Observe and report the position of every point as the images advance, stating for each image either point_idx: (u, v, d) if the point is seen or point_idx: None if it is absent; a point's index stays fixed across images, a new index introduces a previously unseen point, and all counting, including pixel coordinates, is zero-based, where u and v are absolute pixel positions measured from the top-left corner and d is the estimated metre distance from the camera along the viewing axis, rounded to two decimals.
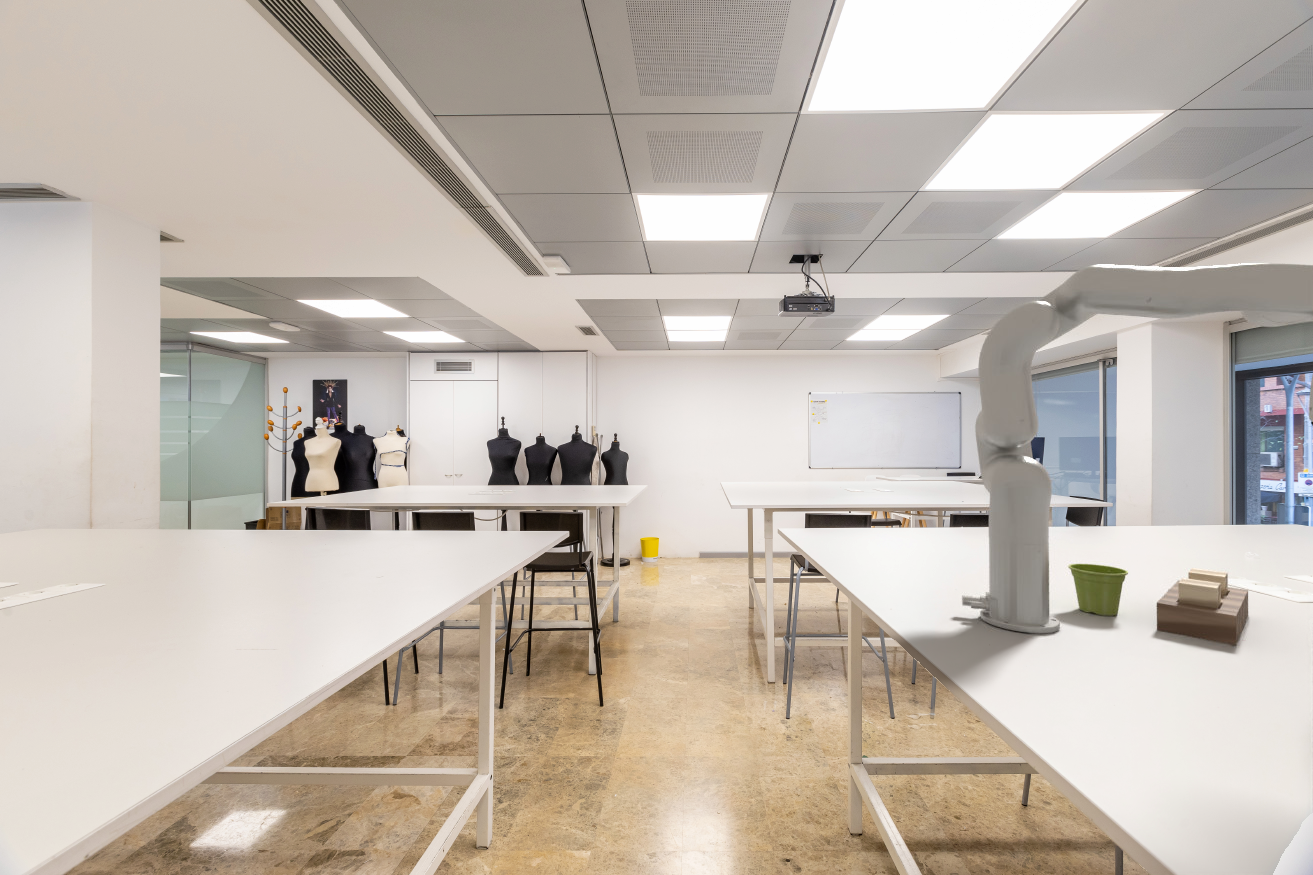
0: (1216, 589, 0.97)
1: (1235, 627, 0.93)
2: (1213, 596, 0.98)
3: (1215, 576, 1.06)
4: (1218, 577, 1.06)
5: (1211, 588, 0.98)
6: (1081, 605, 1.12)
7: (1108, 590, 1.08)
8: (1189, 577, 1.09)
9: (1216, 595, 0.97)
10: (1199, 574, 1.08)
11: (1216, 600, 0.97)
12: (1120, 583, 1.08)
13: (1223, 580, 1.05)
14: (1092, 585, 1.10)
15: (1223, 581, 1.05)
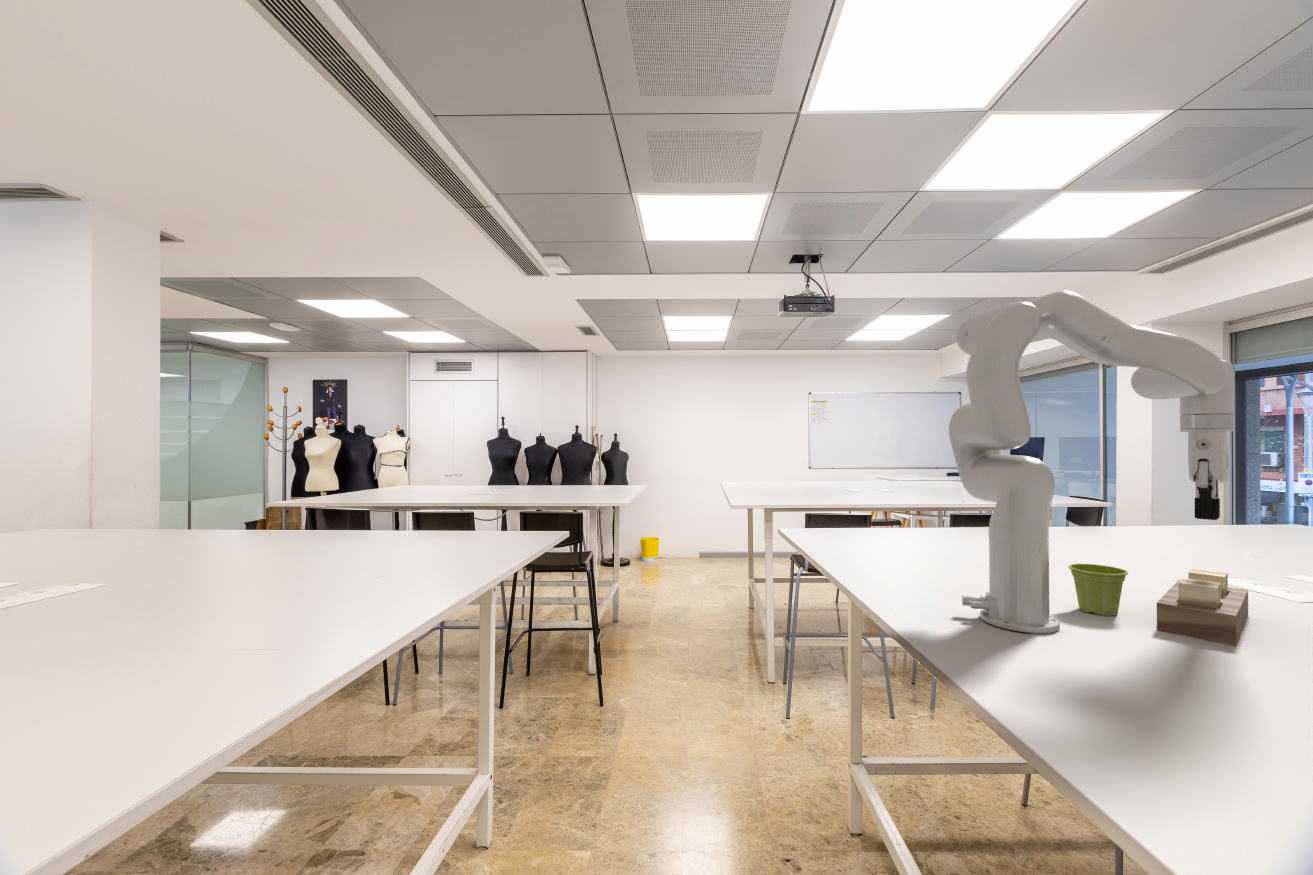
0: (1216, 589, 0.97)
1: (1235, 627, 0.93)
2: (1213, 596, 0.98)
3: (1215, 576, 1.06)
4: (1218, 577, 1.06)
5: (1211, 588, 0.98)
6: (1081, 605, 1.12)
7: (1108, 590, 1.08)
8: (1189, 577, 1.09)
9: (1216, 595, 0.97)
10: (1199, 574, 1.08)
11: (1216, 600, 0.97)
12: (1120, 583, 1.08)
13: (1223, 580, 1.05)
14: (1092, 585, 1.10)
15: (1223, 581, 1.05)
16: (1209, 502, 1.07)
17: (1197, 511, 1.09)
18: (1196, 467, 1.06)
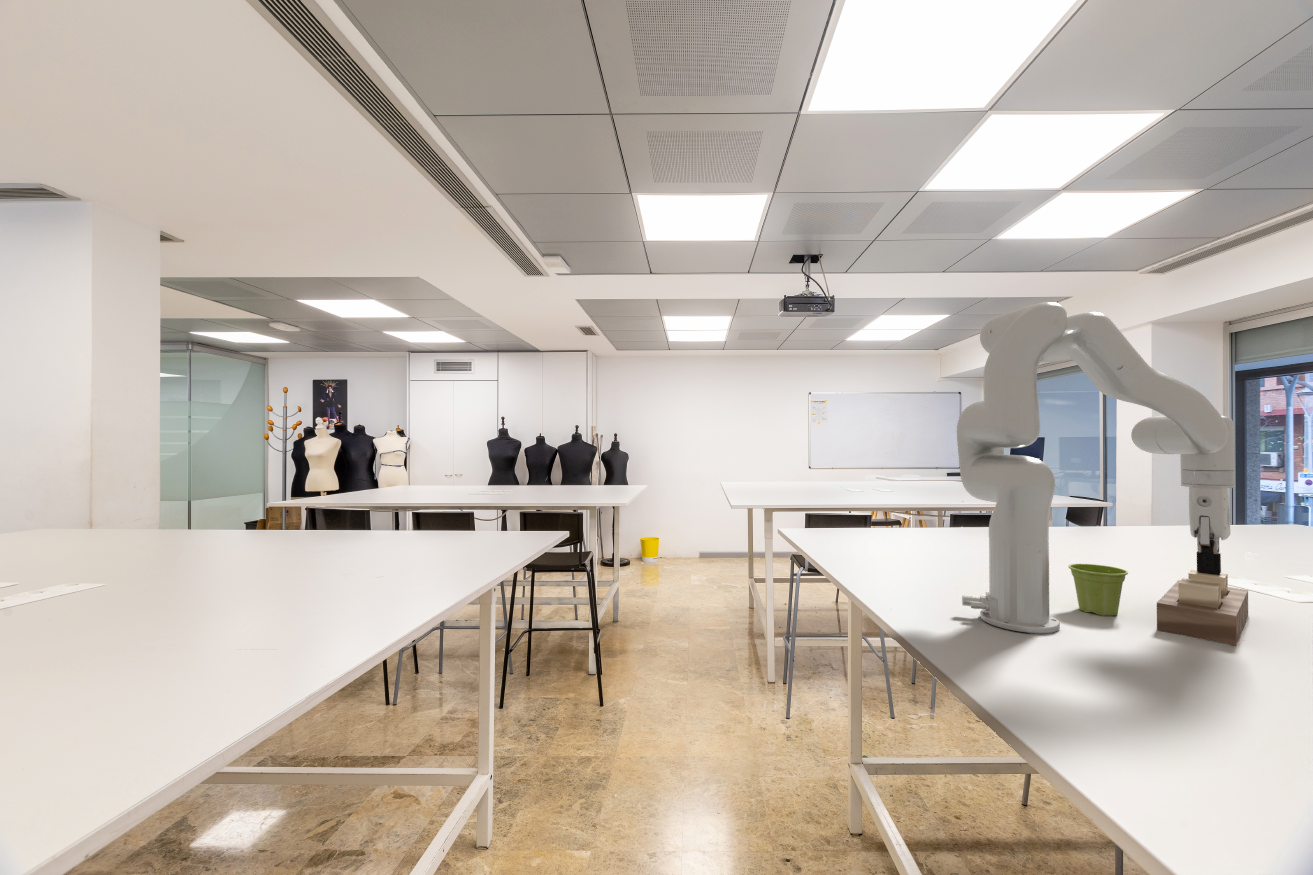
0: (1216, 589, 0.97)
1: (1235, 627, 0.93)
2: (1213, 596, 0.98)
3: (1215, 577, 1.06)
4: (1218, 578, 1.06)
5: (1211, 588, 0.98)
6: (1081, 605, 1.12)
7: (1108, 590, 1.08)
8: (1189, 578, 1.09)
9: (1216, 595, 0.97)
10: (1199, 575, 1.08)
11: (1216, 600, 0.97)
12: (1120, 583, 1.08)
13: (1223, 581, 1.05)
14: (1092, 585, 1.10)
15: (1223, 582, 1.05)
16: (1211, 557, 1.07)
17: (1199, 565, 1.09)
18: (1197, 524, 1.06)
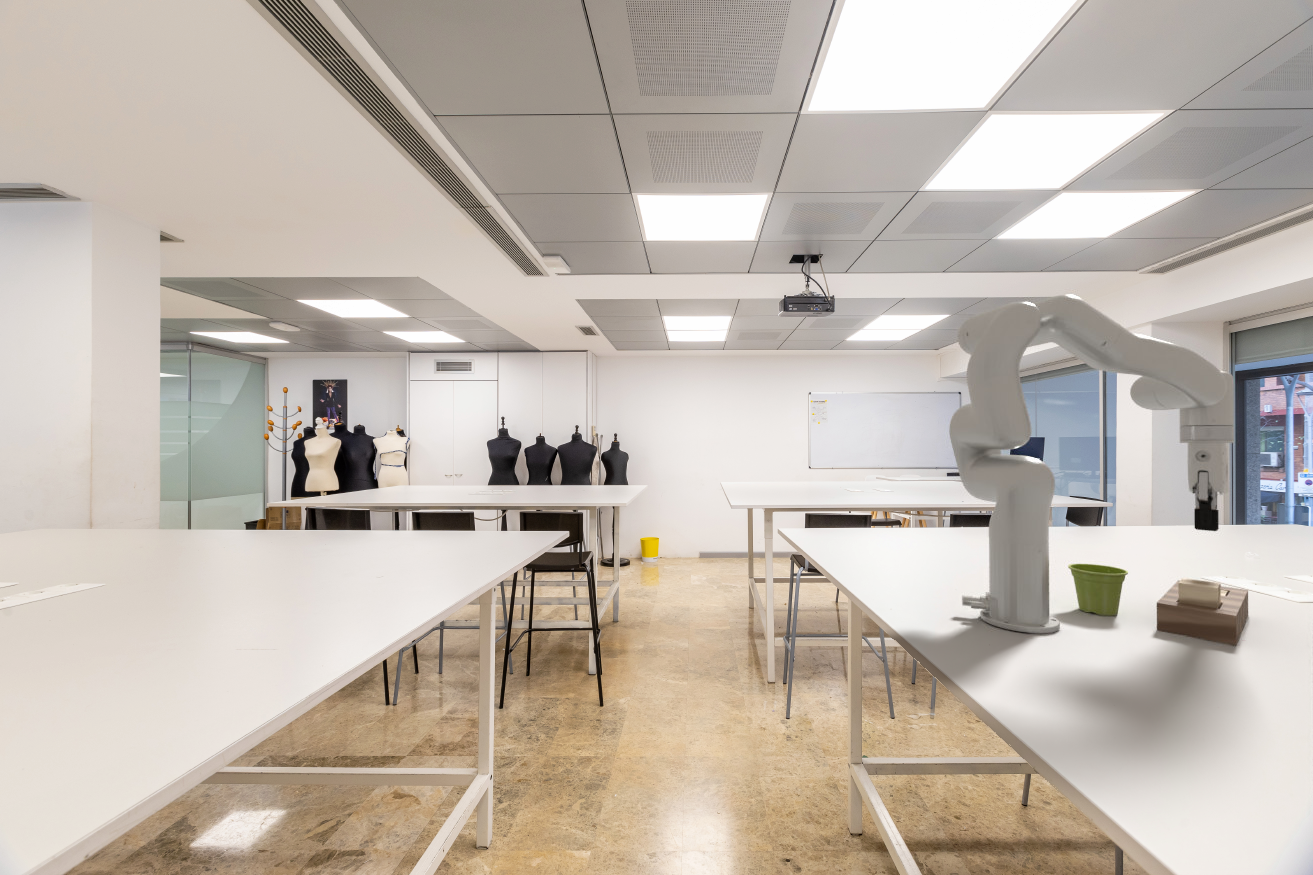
0: (1216, 589, 0.97)
1: (1235, 627, 0.93)
2: (1213, 596, 0.98)
3: None
4: None
5: (1211, 588, 0.98)
6: (1081, 605, 1.12)
7: (1108, 590, 1.08)
8: None
9: (1216, 595, 0.97)
10: None
11: (1216, 600, 0.97)
12: (1120, 583, 1.08)
13: None
14: (1092, 585, 1.10)
15: None
16: (1209, 513, 1.07)
17: (1197, 522, 1.09)
18: (1196, 479, 1.06)
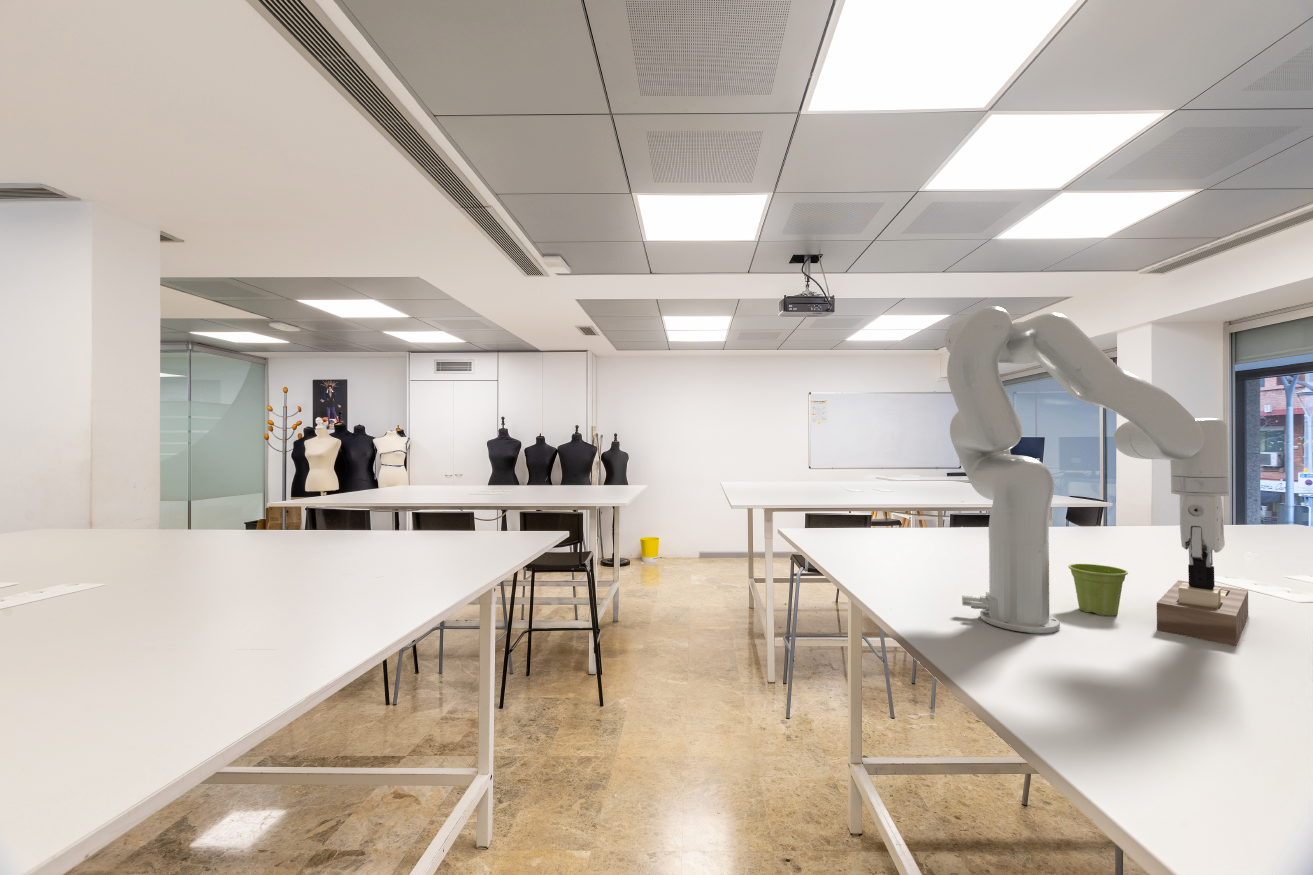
0: (1216, 594, 0.97)
1: (1235, 627, 0.93)
2: (1213, 601, 0.98)
3: None
4: None
5: (1211, 593, 0.98)
6: (1081, 605, 1.12)
7: (1108, 590, 1.08)
8: None
9: (1216, 600, 0.97)
10: None
11: (1216, 605, 0.97)
12: (1120, 583, 1.08)
13: None
14: (1092, 585, 1.10)
15: None
16: (1204, 570, 1.00)
17: (1191, 579, 1.01)
18: (1189, 534, 0.98)
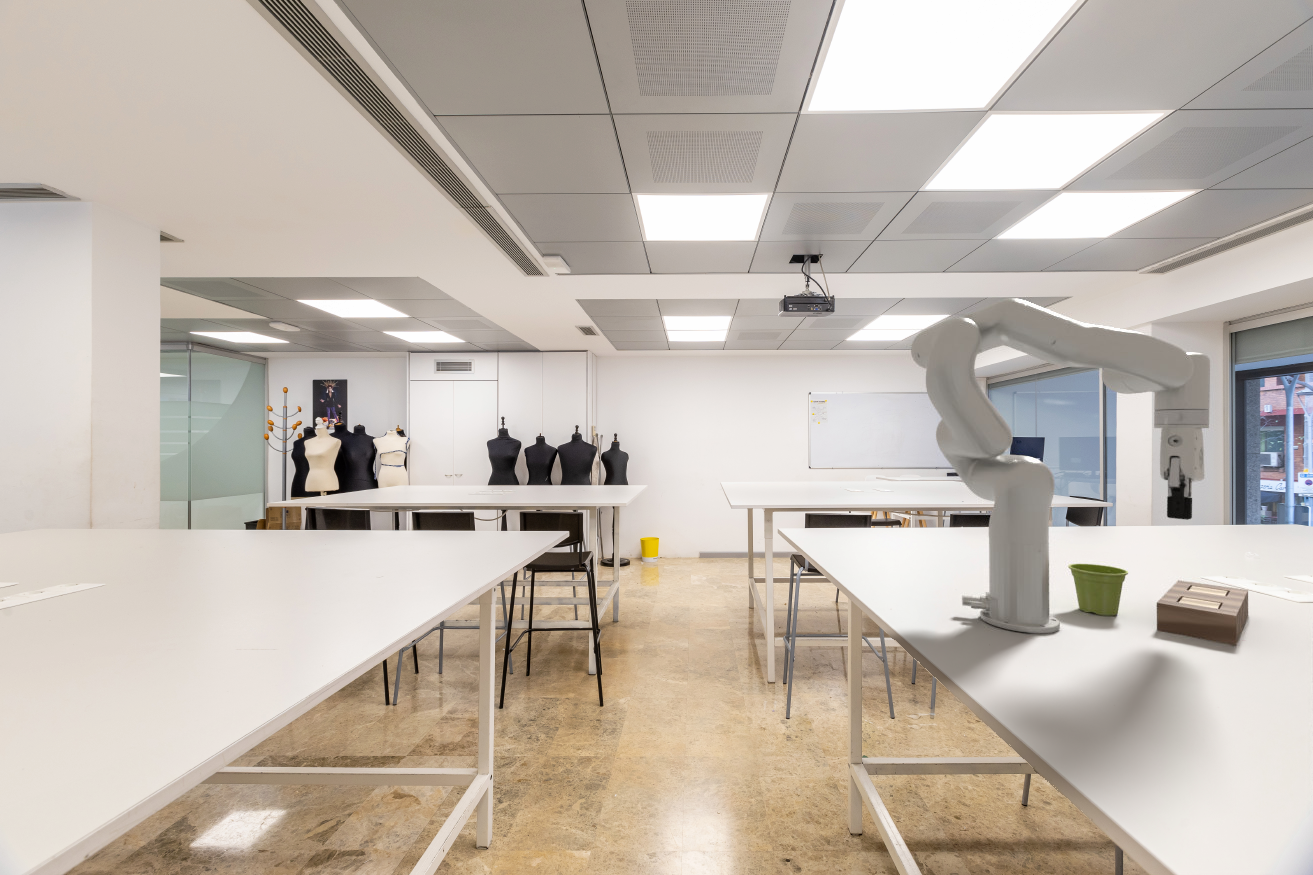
0: None
1: (1235, 627, 0.93)
2: None
3: None
4: None
5: None
6: (1081, 605, 1.12)
7: (1108, 590, 1.08)
8: None
9: None
10: None
11: None
12: (1120, 583, 1.08)
13: None
14: (1092, 585, 1.10)
15: None
16: (1181, 501, 1.03)
17: (1169, 510, 1.05)
18: (1167, 464, 1.02)
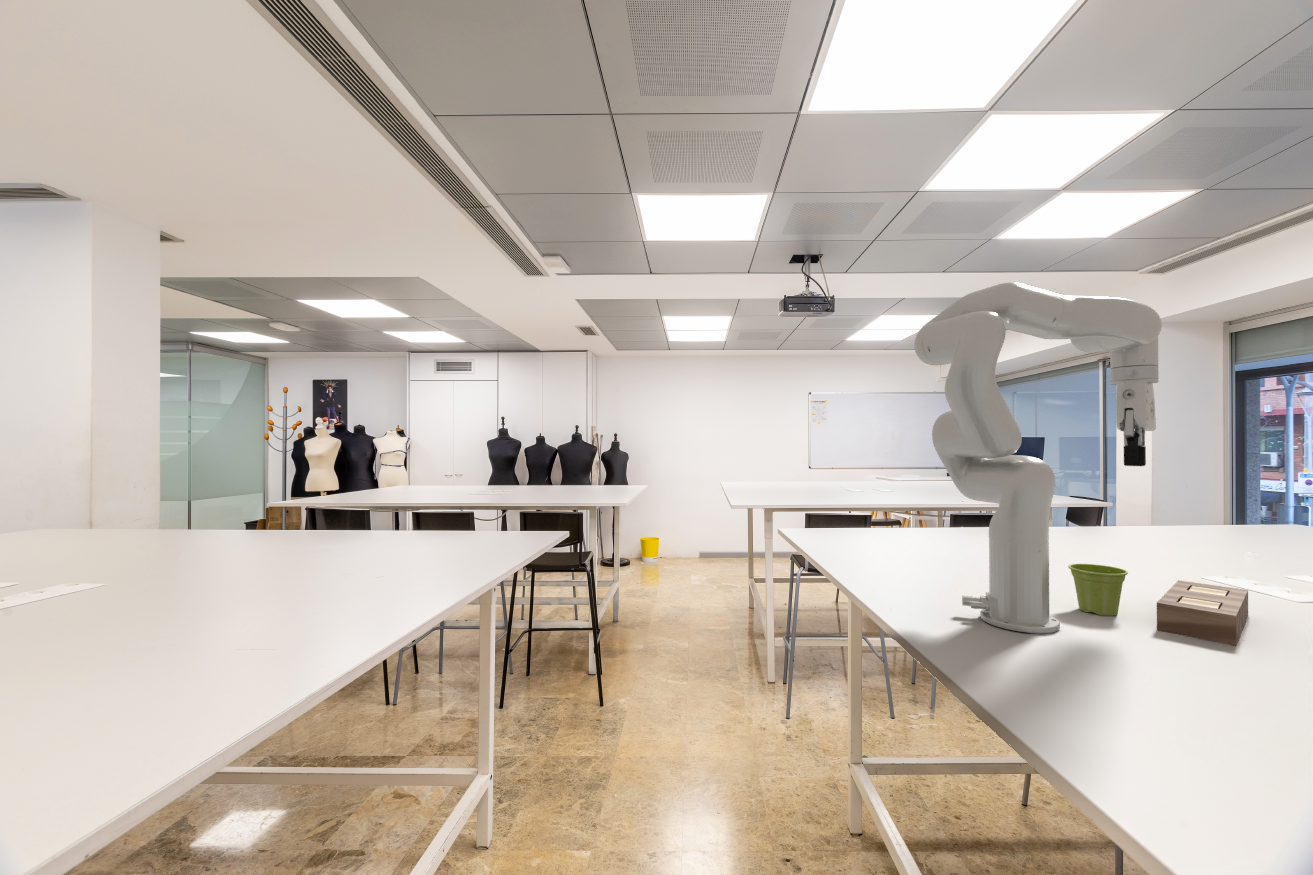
0: None
1: (1235, 627, 0.93)
2: None
3: None
4: None
5: None
6: (1081, 605, 1.12)
7: (1108, 590, 1.08)
8: None
9: None
10: None
11: None
12: (1120, 583, 1.08)
13: None
14: (1092, 585, 1.10)
15: None
16: (1136, 449, 1.13)
17: (1126, 459, 1.15)
18: (1122, 416, 1.12)
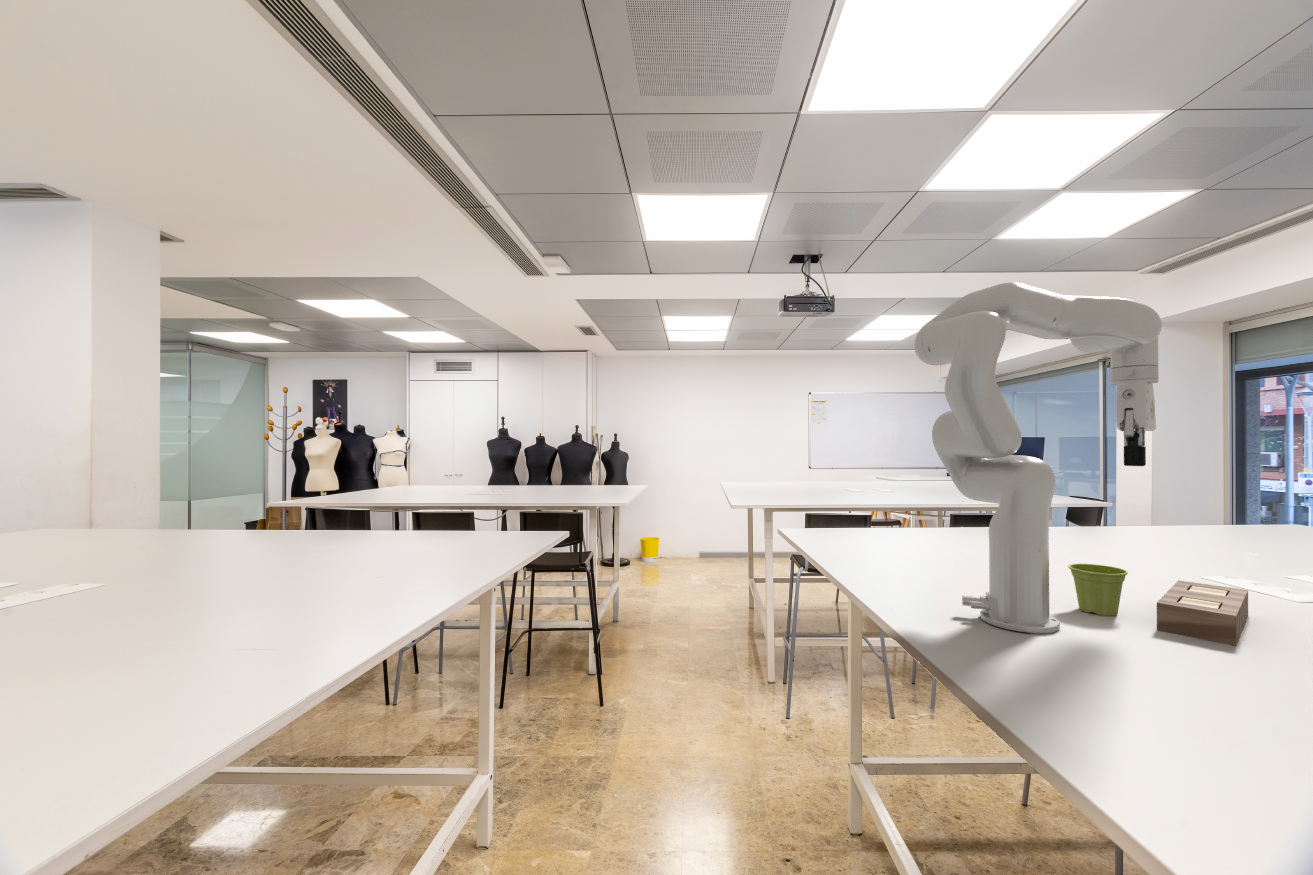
0: None
1: (1235, 627, 0.93)
2: None
3: None
4: None
5: None
6: (1081, 605, 1.12)
7: (1108, 590, 1.08)
8: None
9: None
10: None
11: None
12: (1120, 583, 1.08)
13: None
14: (1092, 585, 1.10)
15: None
16: (1136, 449, 1.13)
17: (1126, 459, 1.15)
18: (1122, 416, 1.12)
